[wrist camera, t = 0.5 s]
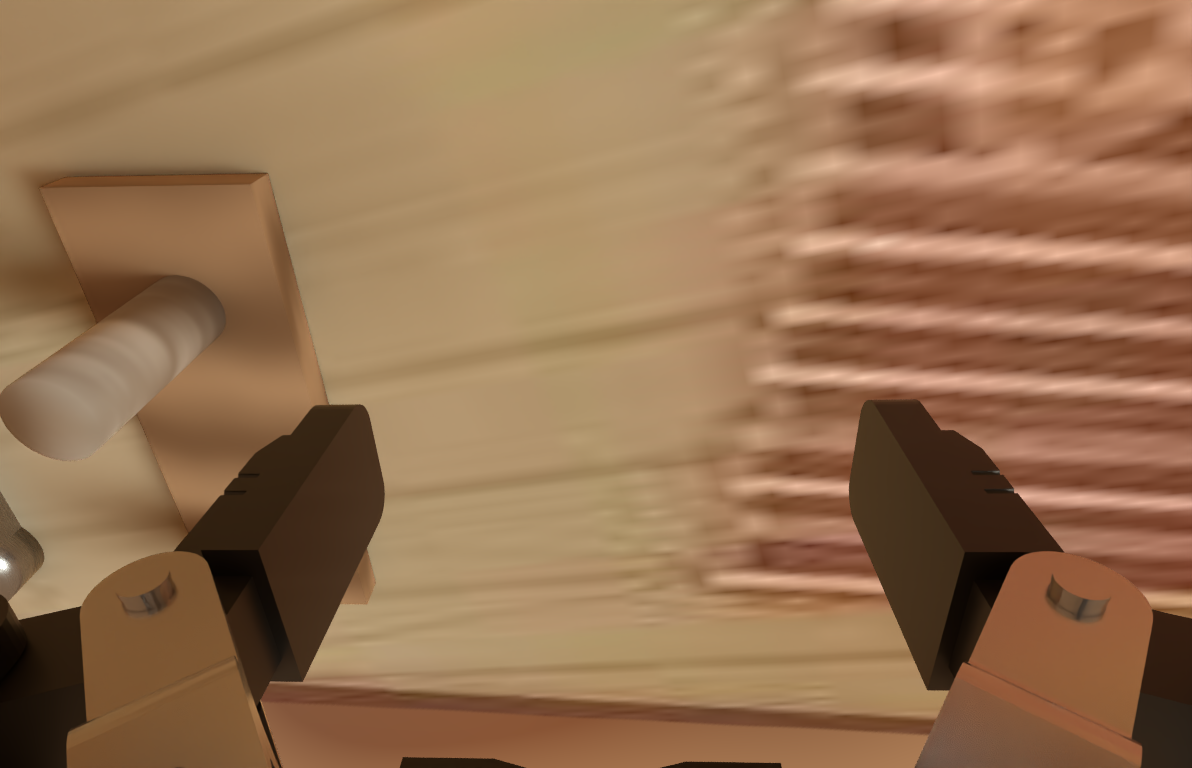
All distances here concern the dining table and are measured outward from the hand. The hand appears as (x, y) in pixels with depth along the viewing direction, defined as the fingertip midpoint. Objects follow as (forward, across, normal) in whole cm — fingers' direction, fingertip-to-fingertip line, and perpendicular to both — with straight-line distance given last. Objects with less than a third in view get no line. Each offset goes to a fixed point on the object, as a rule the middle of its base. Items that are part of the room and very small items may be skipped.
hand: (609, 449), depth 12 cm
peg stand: (+18, +18, +10) cm, 27 cm away
